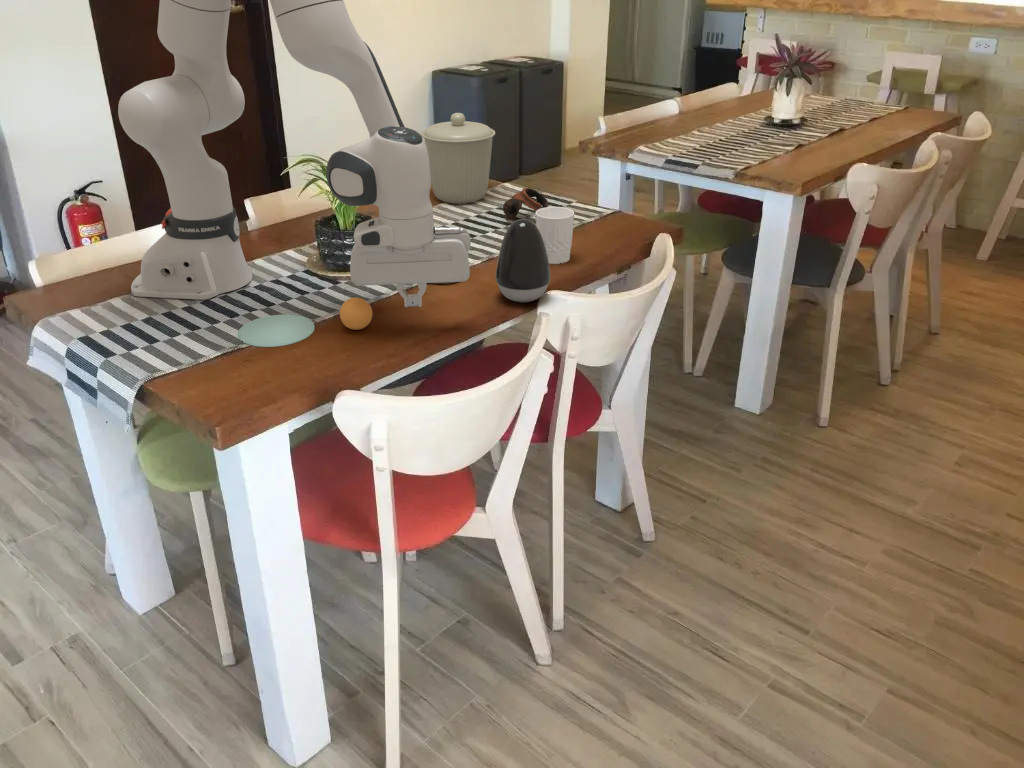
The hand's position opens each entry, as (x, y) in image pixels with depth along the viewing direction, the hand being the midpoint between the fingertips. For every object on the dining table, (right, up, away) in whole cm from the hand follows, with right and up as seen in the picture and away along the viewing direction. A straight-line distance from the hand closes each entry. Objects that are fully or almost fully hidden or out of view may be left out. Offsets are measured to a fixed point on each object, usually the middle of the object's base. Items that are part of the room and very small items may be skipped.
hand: (413, 305), depth 152 cm
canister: (+4, +33, +70) cm, 78 cm away
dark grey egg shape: (+19, +3, +14) cm, 24 cm away
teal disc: (-24, -4, +1) cm, 24 cm away
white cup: (+26, +12, +32) cm, 43 cm away
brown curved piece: (+20, +25, +55) cm, 63 cm away
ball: (-10, -1, 0) cm, 10 cm away
